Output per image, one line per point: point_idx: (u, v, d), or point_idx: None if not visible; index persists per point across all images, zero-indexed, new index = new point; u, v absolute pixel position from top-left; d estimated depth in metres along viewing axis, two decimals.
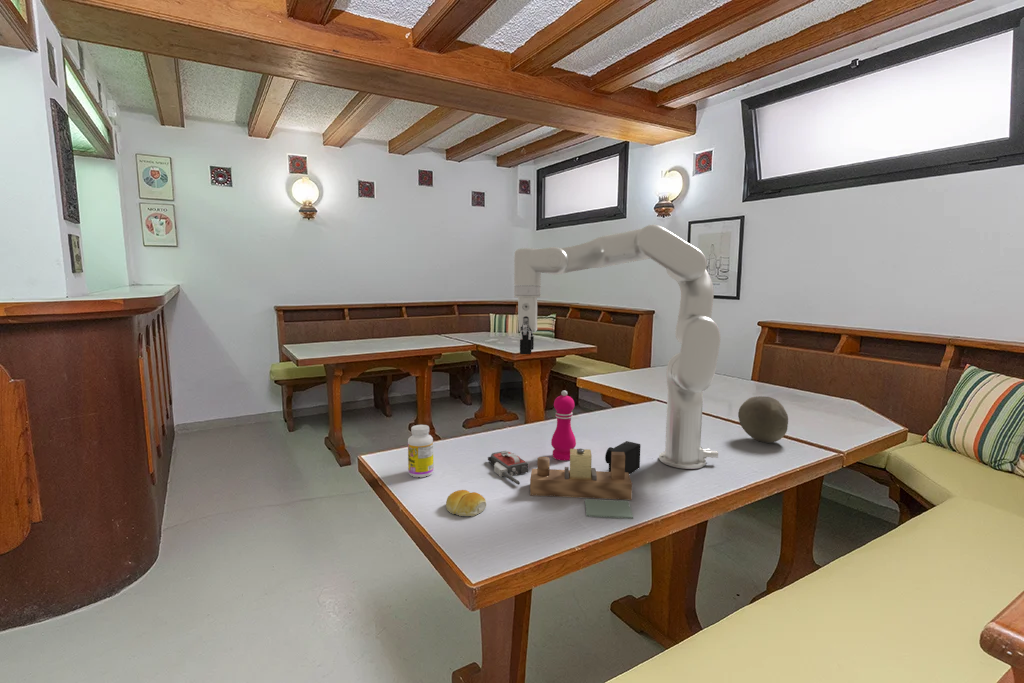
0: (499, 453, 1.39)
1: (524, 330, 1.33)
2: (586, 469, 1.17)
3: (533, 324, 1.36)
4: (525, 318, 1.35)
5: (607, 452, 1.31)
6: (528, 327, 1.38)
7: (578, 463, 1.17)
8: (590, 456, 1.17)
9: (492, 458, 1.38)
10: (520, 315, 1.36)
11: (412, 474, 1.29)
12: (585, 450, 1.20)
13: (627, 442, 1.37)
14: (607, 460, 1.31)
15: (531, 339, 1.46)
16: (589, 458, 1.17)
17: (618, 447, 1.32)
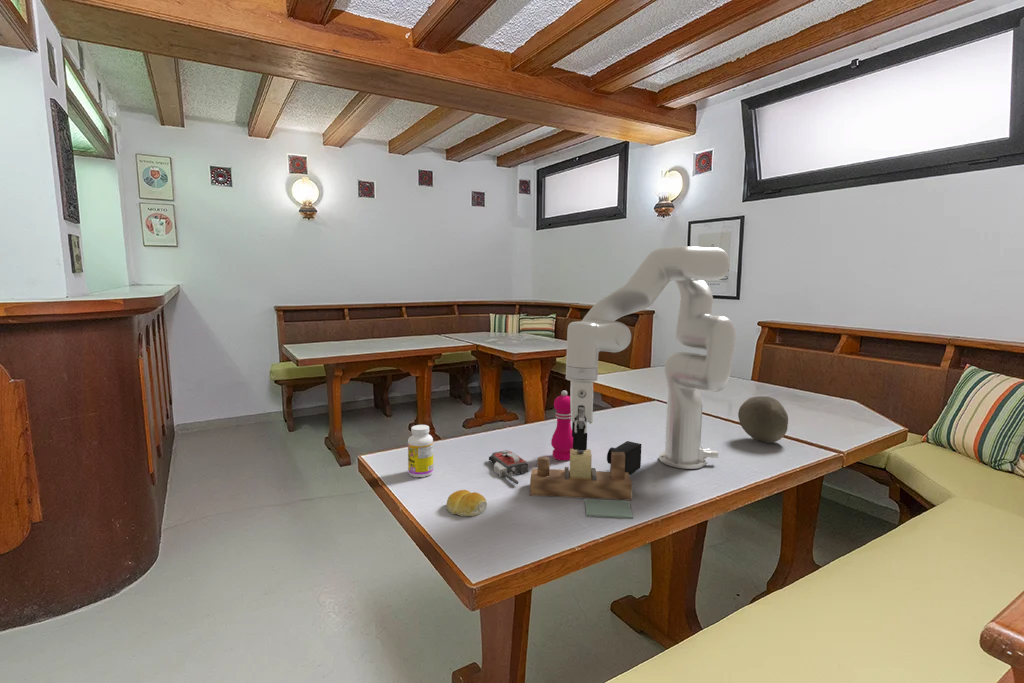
0: (500, 453, 1.40)
1: (581, 424, 1.10)
2: (586, 469, 1.17)
3: (590, 415, 1.13)
4: (581, 407, 1.12)
5: (609, 452, 1.31)
6: None
7: (578, 463, 1.17)
8: (590, 456, 1.17)
9: (493, 457, 1.38)
10: (574, 403, 1.13)
11: (412, 474, 1.29)
12: (585, 450, 1.20)
13: (628, 442, 1.37)
14: (609, 460, 1.31)
15: None
16: (589, 458, 1.17)
17: (620, 447, 1.32)
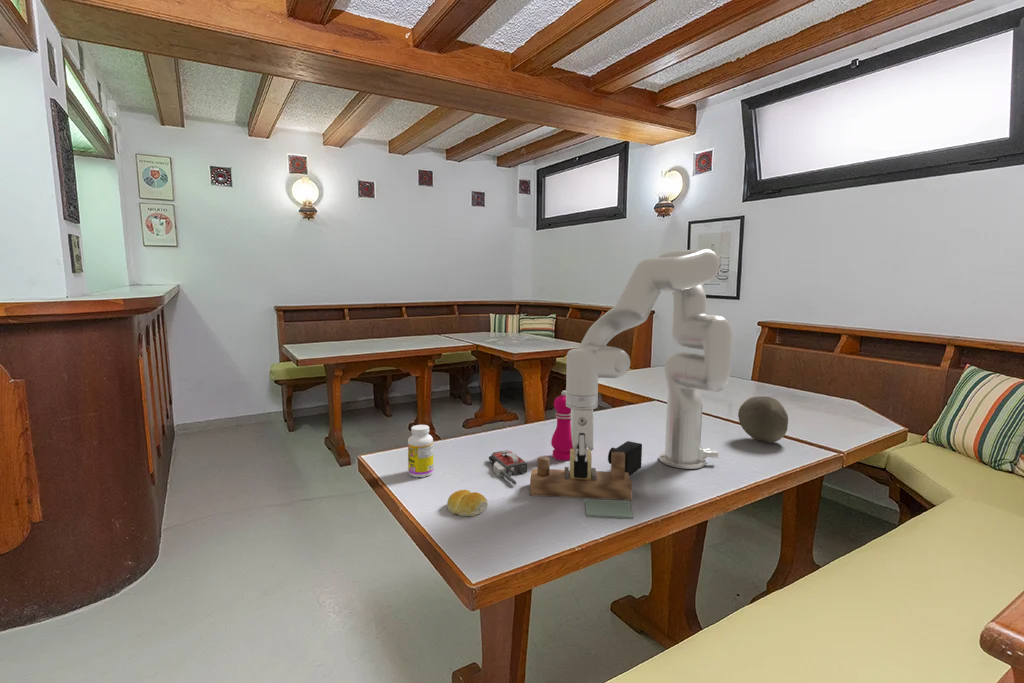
0: (500, 452, 1.40)
1: (581, 457, 1.13)
2: None
3: (591, 442, 1.14)
4: (581, 438, 1.14)
5: (610, 452, 1.31)
6: None
7: None
8: (590, 456, 1.17)
9: (492, 457, 1.39)
10: (575, 431, 1.14)
11: (412, 474, 1.29)
12: None
13: (629, 442, 1.37)
14: (610, 460, 1.31)
15: None
16: (589, 458, 1.17)
17: (621, 447, 1.32)
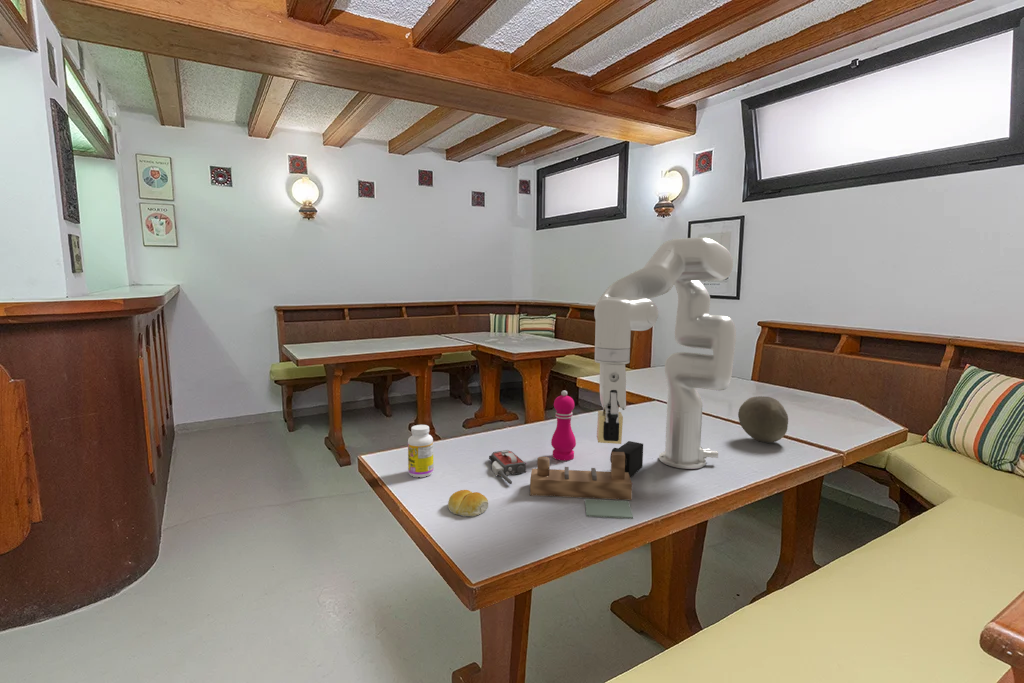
0: (500, 452, 1.40)
1: (613, 416, 1.02)
2: None
3: (623, 400, 1.03)
4: (613, 396, 1.03)
5: None
6: None
7: None
8: (621, 418, 1.06)
9: (492, 457, 1.39)
10: (606, 388, 1.03)
11: (412, 474, 1.29)
12: None
13: (630, 442, 1.37)
14: None
15: None
16: (620, 420, 1.06)
17: (623, 447, 1.32)
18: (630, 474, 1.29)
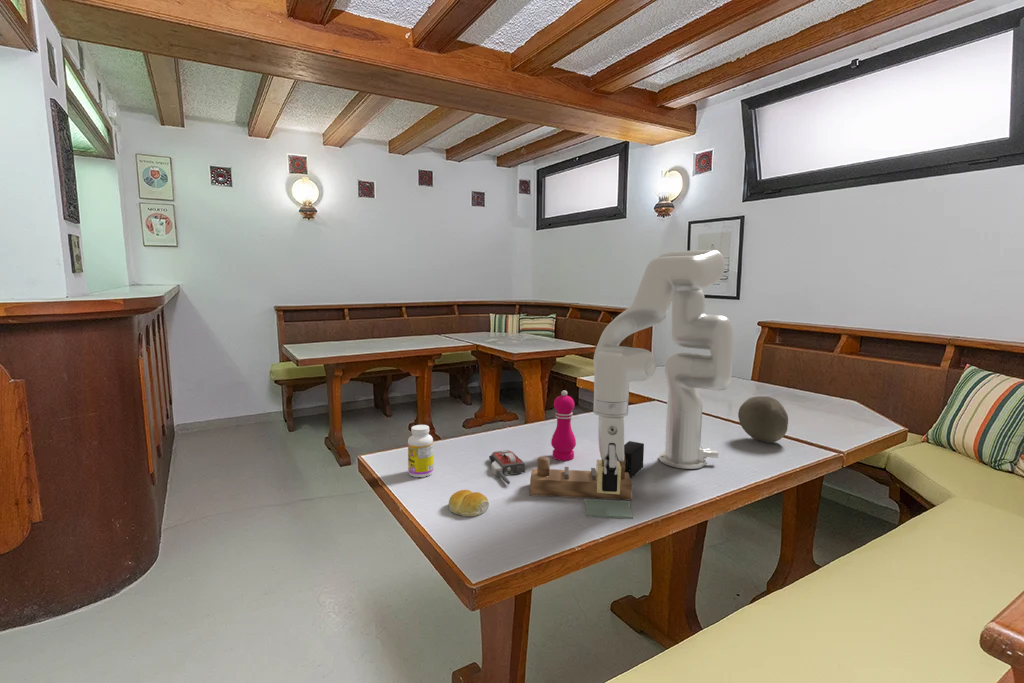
0: (500, 452, 1.40)
1: (611, 469, 1.03)
2: None
3: (622, 453, 1.04)
4: (611, 449, 1.04)
5: None
6: None
7: None
8: (620, 469, 1.07)
9: (492, 457, 1.39)
10: (604, 441, 1.04)
11: (412, 474, 1.29)
12: None
13: (631, 442, 1.37)
14: None
15: None
16: (618, 471, 1.07)
17: (624, 447, 1.32)
18: (631, 474, 1.29)
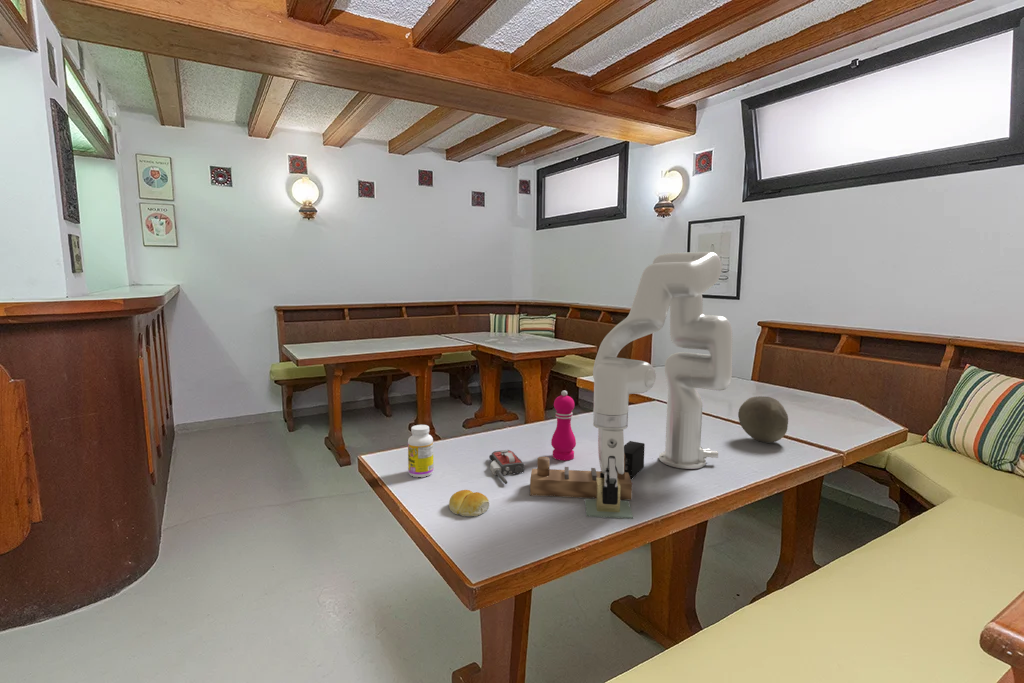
0: (500, 452, 1.40)
1: (612, 481, 1.03)
2: None
3: (621, 466, 1.04)
4: (611, 460, 1.04)
5: None
6: None
7: None
8: (619, 487, 1.08)
9: (492, 456, 1.39)
10: (604, 454, 1.05)
11: (412, 474, 1.29)
12: None
13: (631, 442, 1.37)
14: None
15: None
16: None
17: (625, 447, 1.32)
18: (633, 474, 1.29)
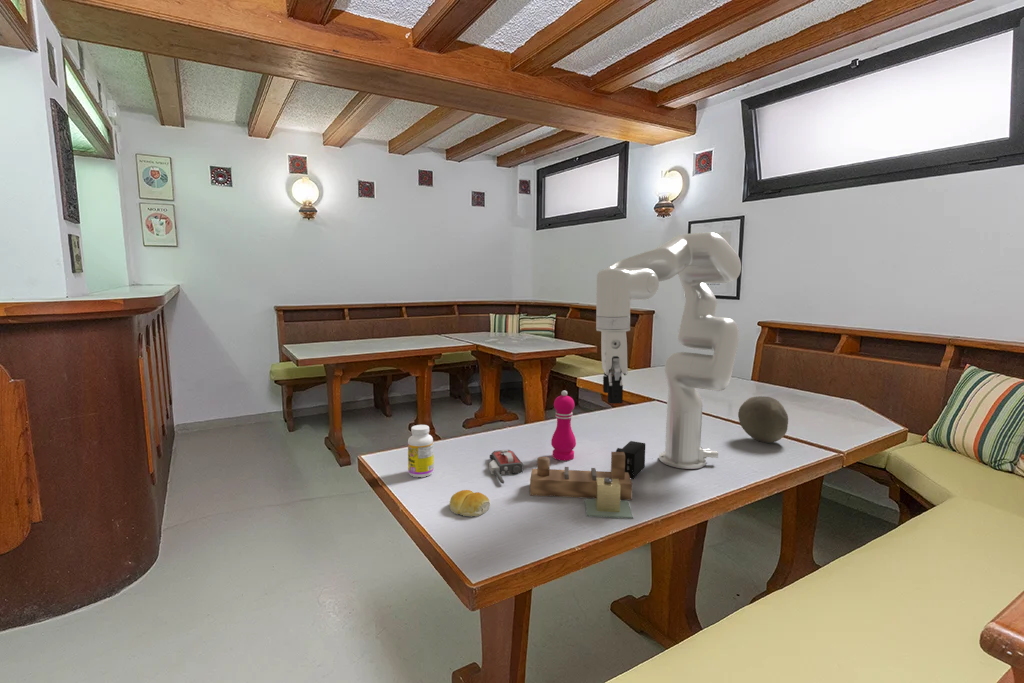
0: (500, 451, 1.41)
1: (617, 376, 1.04)
2: (614, 501, 1.08)
3: (625, 366, 1.07)
4: (615, 359, 1.07)
5: None
6: None
7: (606, 494, 1.08)
8: (619, 487, 1.08)
9: (492, 456, 1.40)
10: (608, 355, 1.07)
11: (412, 474, 1.29)
12: (613, 479, 1.11)
13: (632, 442, 1.37)
14: None
15: None
16: (617, 489, 1.08)
17: (626, 447, 1.32)
18: (635, 474, 1.29)
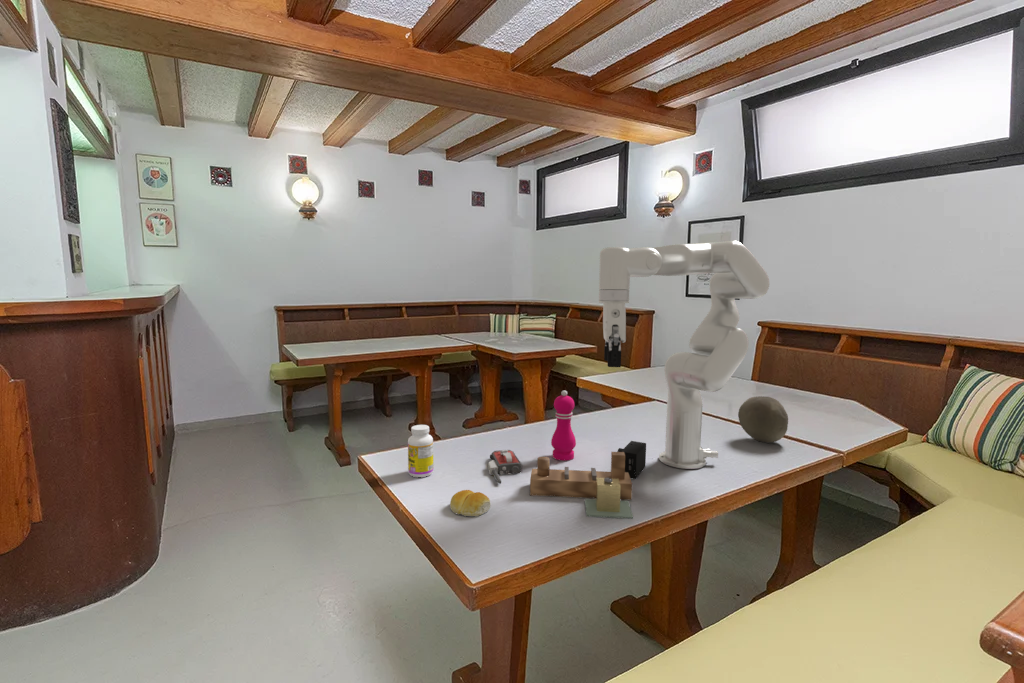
0: (500, 451, 1.41)
1: (616, 341, 1.17)
2: (614, 501, 1.08)
3: (623, 333, 1.20)
4: (615, 326, 1.19)
5: None
6: None
7: (606, 494, 1.08)
8: (619, 487, 1.08)
9: (492, 456, 1.40)
10: (609, 323, 1.20)
11: (412, 474, 1.29)
12: (613, 479, 1.11)
13: (633, 441, 1.37)
14: None
15: None
16: (617, 489, 1.08)
17: (628, 447, 1.32)
18: (636, 474, 1.29)
